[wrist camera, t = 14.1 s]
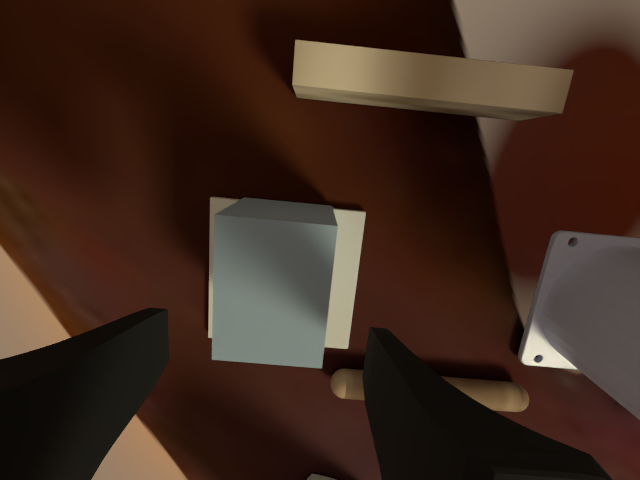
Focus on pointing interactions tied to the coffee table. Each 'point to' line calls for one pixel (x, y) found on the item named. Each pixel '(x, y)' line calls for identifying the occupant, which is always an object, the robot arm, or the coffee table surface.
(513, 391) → the dowel
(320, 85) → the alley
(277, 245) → the block
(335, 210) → the coaster
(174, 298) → the coffee table surface
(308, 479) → the skincare box
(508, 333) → the coffee table surface
